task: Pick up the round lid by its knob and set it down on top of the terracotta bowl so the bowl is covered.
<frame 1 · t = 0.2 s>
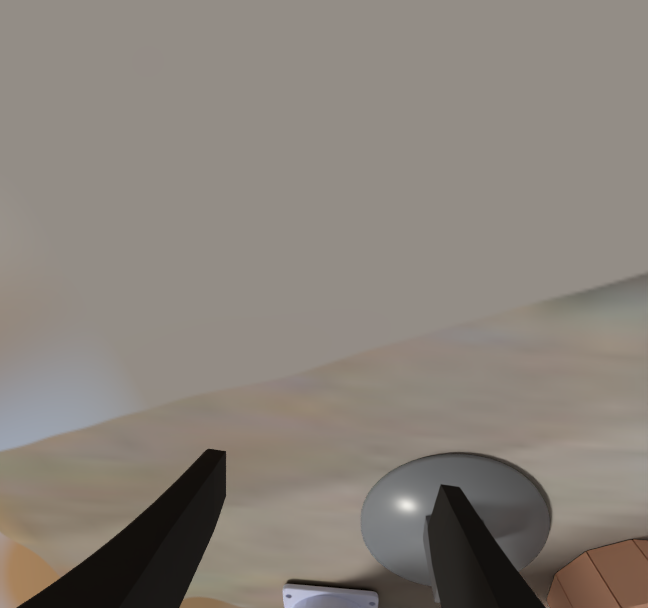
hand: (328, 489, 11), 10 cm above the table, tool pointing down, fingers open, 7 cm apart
lid: (449, 519, 25), on the table
bowl: (631, 593, 25), on the table
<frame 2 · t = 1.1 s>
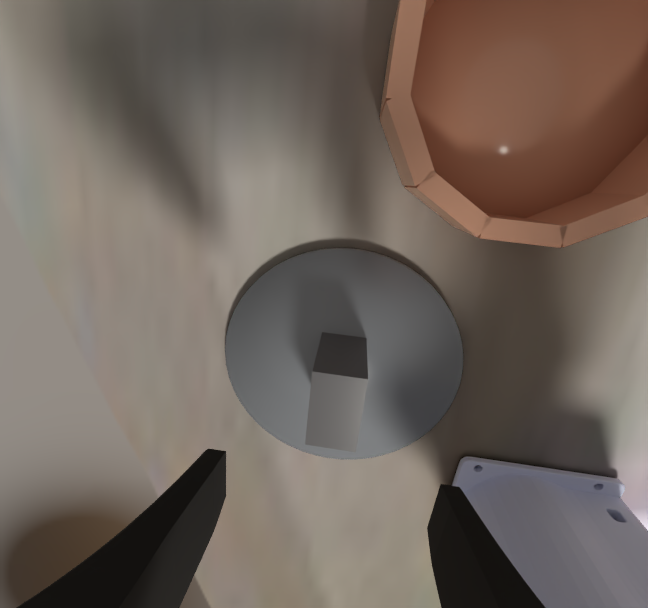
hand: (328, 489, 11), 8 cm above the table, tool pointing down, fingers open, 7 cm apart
lid: (340, 359, 19), on the table
bowl: (524, 90, 14), on the table
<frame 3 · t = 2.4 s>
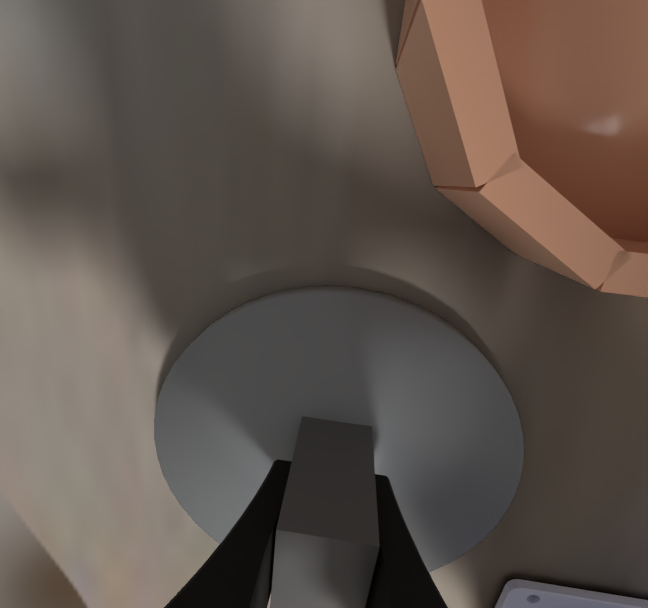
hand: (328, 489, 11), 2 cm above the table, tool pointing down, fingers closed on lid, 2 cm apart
lid: (331, 449, 13), on the table, touching gripper
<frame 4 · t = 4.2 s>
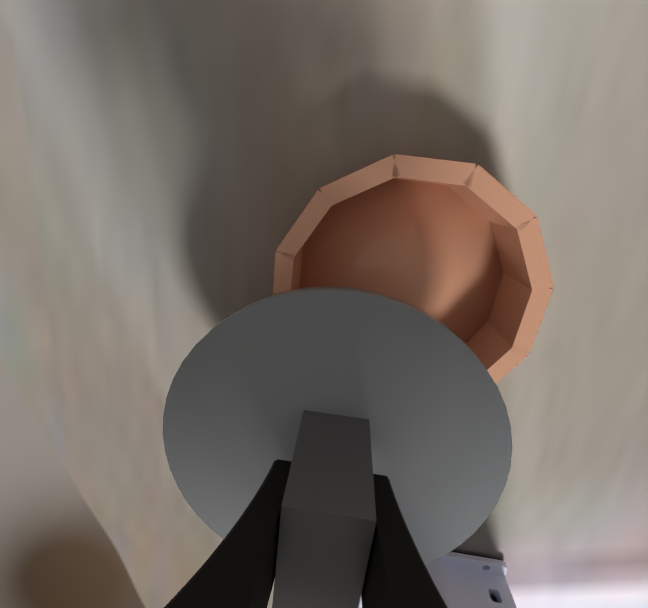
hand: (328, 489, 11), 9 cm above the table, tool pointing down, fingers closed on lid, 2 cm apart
lid: (331, 443, 14), point 7 cm above the table, touching gripper
bowl: (395, 281, 18), on the table
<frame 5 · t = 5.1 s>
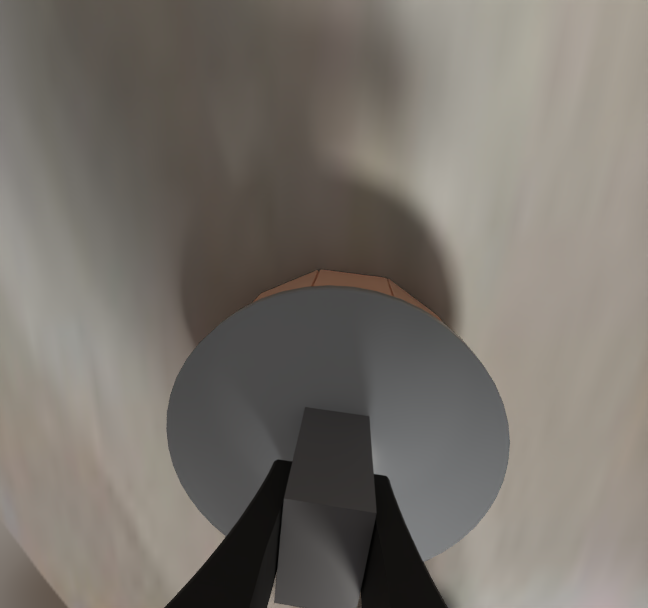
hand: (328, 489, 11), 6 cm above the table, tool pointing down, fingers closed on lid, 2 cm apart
lid: (332, 441, 14), point 4 cm above the table, touching bowl, gripper
bowl: (337, 382, 17), on the table
when the fingers open (6 cm above the table, at t = 5.7 s): lid stays where it is, resting on bowl.
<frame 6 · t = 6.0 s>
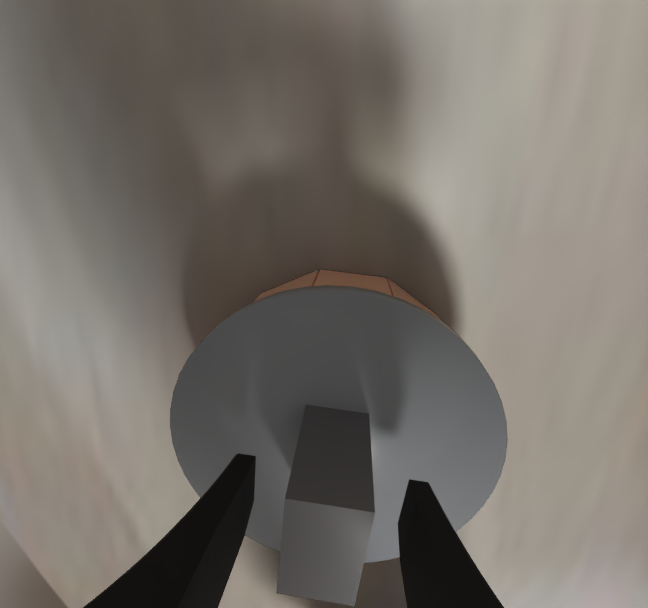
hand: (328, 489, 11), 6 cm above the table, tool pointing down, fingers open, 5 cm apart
lid: (332, 436, 14), point 3 cm above the table, touching bowl
bowl: (337, 382, 17), on the table
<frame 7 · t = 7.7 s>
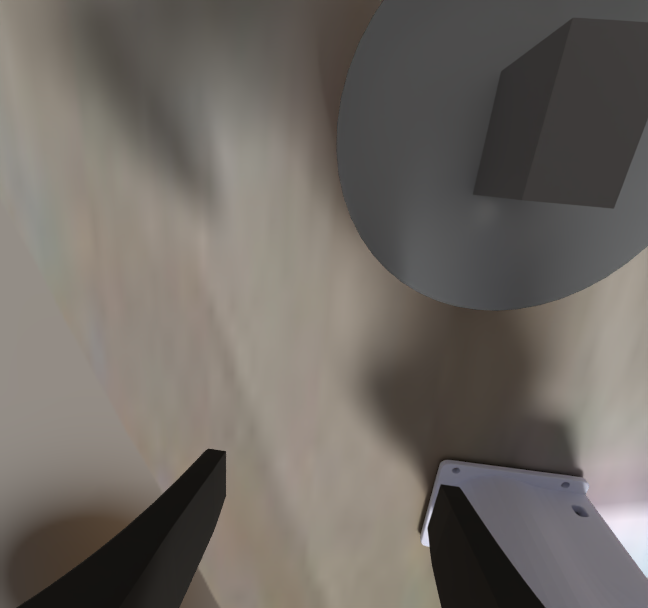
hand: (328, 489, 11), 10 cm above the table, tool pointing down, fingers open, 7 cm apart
lid: (510, 141, 13), point 3 cm above the table, touching bowl
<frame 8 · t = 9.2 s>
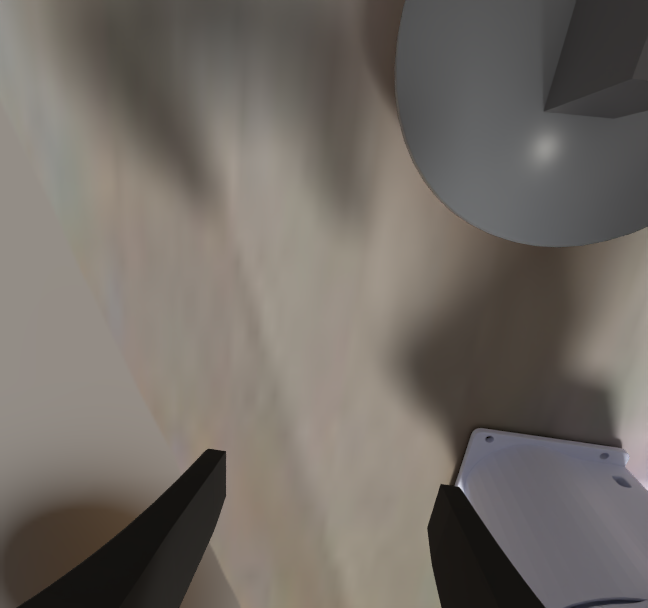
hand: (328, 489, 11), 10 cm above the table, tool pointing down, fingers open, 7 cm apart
lid: (585, 55, 12), point 3 cm above the table, touching bowl
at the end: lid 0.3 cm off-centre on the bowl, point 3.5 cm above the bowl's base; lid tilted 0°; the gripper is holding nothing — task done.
